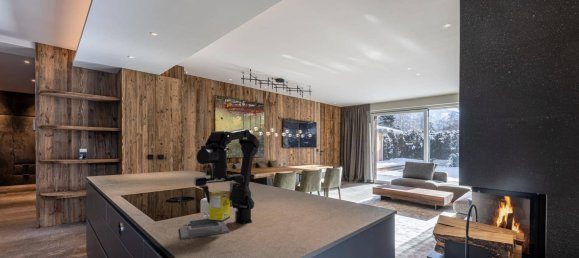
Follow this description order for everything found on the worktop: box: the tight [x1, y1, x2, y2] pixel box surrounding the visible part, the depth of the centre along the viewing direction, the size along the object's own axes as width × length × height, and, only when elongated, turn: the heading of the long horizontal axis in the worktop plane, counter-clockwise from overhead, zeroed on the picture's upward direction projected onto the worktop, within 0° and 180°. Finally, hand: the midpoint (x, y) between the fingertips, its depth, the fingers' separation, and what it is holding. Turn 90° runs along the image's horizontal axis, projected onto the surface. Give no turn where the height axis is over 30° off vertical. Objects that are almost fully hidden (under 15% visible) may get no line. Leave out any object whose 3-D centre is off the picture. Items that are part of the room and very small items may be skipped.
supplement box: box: [209, 190, 231, 223], centre depth 104 cm, size 6×6×11 cm
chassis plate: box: [179, 218, 230, 240], centre depth 109 cm, size 18×14×3 cm
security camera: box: [199, 197, 209, 219], centre depth 124 cm, size 6×7×10 cm
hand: (219, 201), depth 104 cm, fingers closed on supplement box, 8 cm apart
